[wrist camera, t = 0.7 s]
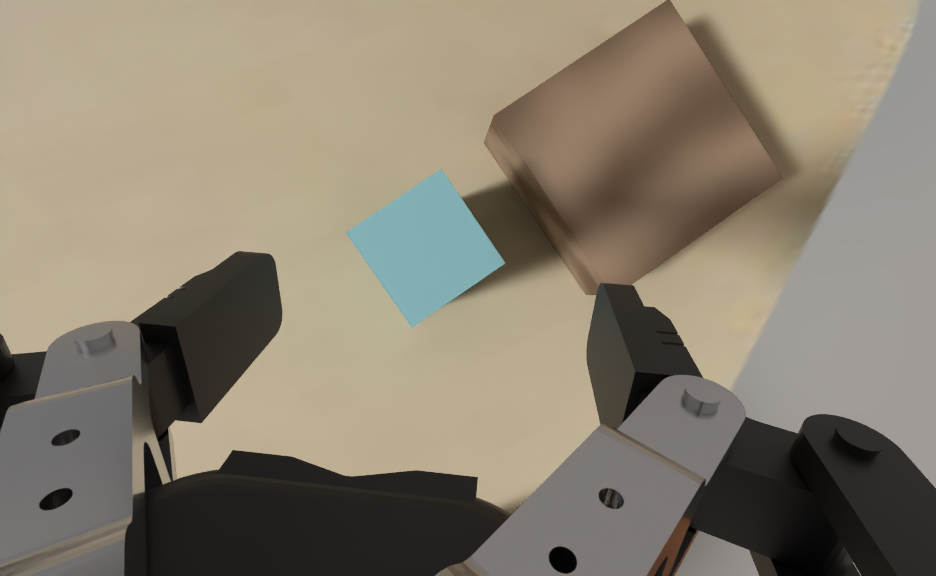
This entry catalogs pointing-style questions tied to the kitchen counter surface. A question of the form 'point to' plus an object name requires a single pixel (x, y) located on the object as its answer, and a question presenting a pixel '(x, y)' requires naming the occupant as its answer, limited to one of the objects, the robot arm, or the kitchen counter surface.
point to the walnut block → (630, 152)
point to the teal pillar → (426, 248)
